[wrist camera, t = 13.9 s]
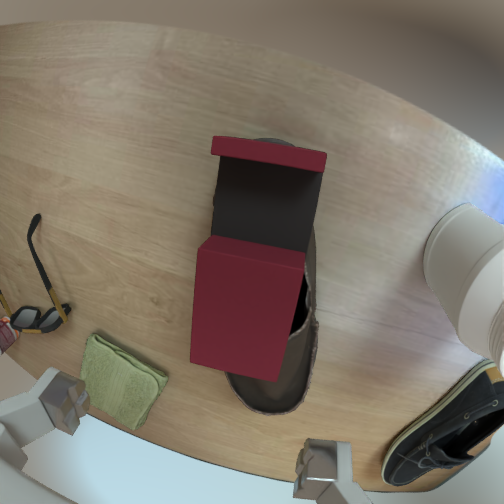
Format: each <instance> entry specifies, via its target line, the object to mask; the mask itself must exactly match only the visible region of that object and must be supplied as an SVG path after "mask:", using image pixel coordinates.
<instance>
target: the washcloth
mask: <svg viewBox="0 0 504 504" xmlns="http://www.w3.org/2000/svg"><path fill="white" fill-rule="evenodd" d="M83 358H84V359H83V361H82V363H83V364H82V367H81V369H82V370H81V372H80V379H81V380H83V381H84V382H85V384H86V388H85V390H86V391H87V393H88V394H89V396H90V404H91V405H93V406H94V407H97V408H98V409H99V410H101V411H102V410H103V411H105V412H106V413H108V414H109V415H111V416H112V417H113V418H115V419H116V420H117V421H118V422H120V423H121V424H123V425H125V426H126V427H128V428H130V429H131V430H135V429H138V428H139V427H141V426H142V425H143V424H144V422H145V420H147V414H148V412H149V410H150V408H151V406H152V405H153V403H154V401H155V400H157V397H158V396H160V393H161V392H162V389H163V388H164V387H165V385H166V383H167V382H168V376H166V375H164V372H162V371H159V370H156V369H154V367H151V366H150V365H148V364H146V363H144V362H142V361H139V360H138V359H136V358H134V357H133V355H130V354H128V353H127V352H125V351H124V350H122V349H120V348H118V347H117V346H115V345H113V344H111V343H109V342H107V341H105V340H104V339H102V338H101V337H100V336H99V335H97V334H91V335H90V336H89V338H88V339H87V343H86V349H85V352H84V355H83Z"/></svg>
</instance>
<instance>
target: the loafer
mask: <svg viewBox="0 0 504 504" xmlns="http://www.w3.org/2000/svg"><path fill="white" fill-rule="evenodd" d="M254 140H258V141H264V142H271V143H277V144H283V145H289V146H294V145H292V144H290V143H288V142H285V141H282V140H279V139H273V138H259V139H254ZM294 147H295V146H294ZM215 195H216V189H215V194H214V197H213V206H214V203H215ZM315 295H316V245H315V234H314V226H313V227H312V232H311V237H310V242H309V247H308V251H307V256H306V261H305V269H304V275H303V279H302V284H301V288H300V292H299V297H298V301H297V305H296V309H295V313H294V318H293V322H292V326H291V330H290V334H289V338H288V342H287V346H286V350H285V354H284V357H283V361H282V365H281V369H280V373H279V376H278V380H277V382H271V381H266V380H261V379H257V378H252V377H248V376H243V375H239V374H234V373H230V372H226V371H225V375H226V377H227V380H228V382H229V384H230V387H231V388H232V390H233V392H234V393H235V394H236V396H237V397H238V399H239V400H240V401H242V403H243V404H244V405H245V406H246V407H247V408H248V409H250V410H252V411H254V412H256V413H260V414H264V415H266V416H269V415H283V414H287V413H290V412H292V411H295V410H296V408H298V406H299V405H300V404H301V403H302V402H304V398H305V396H306V395H307V391H308V389H309V386H310V383H311V378H312V375H313V373H312V370H313V366H314V362H315V358H316V353H317V348H318V347H317V343H318V328H319V323H318V321H316V319H315V315H314V313H315V310H316V299H315Z"/></svg>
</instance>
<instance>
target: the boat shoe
mask: <svg viewBox="0 0 504 504" xmlns="http://www.w3.org/2000/svg"><path fill="white" fill-rule="evenodd" d="M475 421H476V423H475ZM503 424H504V378H503V377H502V375H501V374H500V372H499V370H498V369H497V366H496V365H495V363H494V361H492V360H490V359H488V360H485V361H483V362H481V363H479V364H478V365H477V366H475V367H474V368H473V369H472V370H471V371H470V372H469V373H468V374H467V375H466V376H465V377H464V378H463V379H462V380H461V381H460V382H459V383H458V384H457V385H456V386H455V387H454V388H453V389H452V390H451V391H450V392H449V393H448V394H447V395H446V396H445V397H444V398H443V399H442V400H441V401H440V402H439V403H438V404H437V405H435V406H434V407H433V408H432V409H430V410H429V411H428V412H427V413H425V414H424V415H423V416H422V417H420V418H419V419H418V420H416V421H415V422H414V423H413V424H412V425H410V426H409V427H408V428H407V429H406V430H405V431H404V432H402V433H401V434H400V435H399V436H398V437H397V438H396V440H395V441H394V442H393V443H392V445H391V447H390V448H389V450H388V452H387V454H386V456H385V458H384V461H383V464H382V468H381V477H382V479H383V481H384V482H385V483H387V484H389V485H394V486H402V485H407V484H409V483H411V482H412V481H414V480H416V479H417V478H419V477H420V476H422V475H424V474H425V473H427V472H429V471H431V470H433V469H436V468H441V469H443V468H445V469H451V468H453V467H454V466H458V465H461V464H464V463H466V462H468V461H471V460H472V459H473V458H474V456H472V455H468V454H467V452H468V451H469V450H470V449H472V448H473V447H474V446H476V445H477V444H479V443H480V442H481V441H483V440H484V439H485V438H487V437H488V436H489V435H491V434H492V433H493V432H495V431H496V430H497V429H499V428H500V427H501V426H502V425H503Z"/></svg>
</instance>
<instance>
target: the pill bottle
mask: <svg viewBox="0 0 504 504" xmlns="http://www.w3.org/2000/svg"><path fill="white" fill-rule="evenodd" d="M9 322H10V318H9V317H3V318H2V319H1V320H0V356H1V355H2V354H3V353H4V352H5V351H6V350H7V349H8V348H9V347H10V346H11V345H12V344H13V343H14V342H15V341H16V340H17V339H18V338H19V336H20V333H19V331H17V330H15V329H12V328H11V326H10V323H9Z"/></svg>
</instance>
